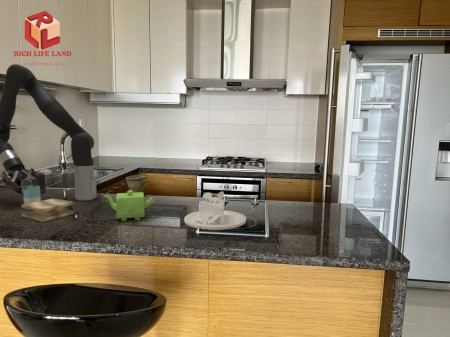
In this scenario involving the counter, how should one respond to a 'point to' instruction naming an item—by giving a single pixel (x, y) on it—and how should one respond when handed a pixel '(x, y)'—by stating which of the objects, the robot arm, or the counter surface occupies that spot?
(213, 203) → the dish
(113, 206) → the kettle
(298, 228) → the counter surface
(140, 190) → the ceramic cup
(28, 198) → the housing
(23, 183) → the small box
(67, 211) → the stand
